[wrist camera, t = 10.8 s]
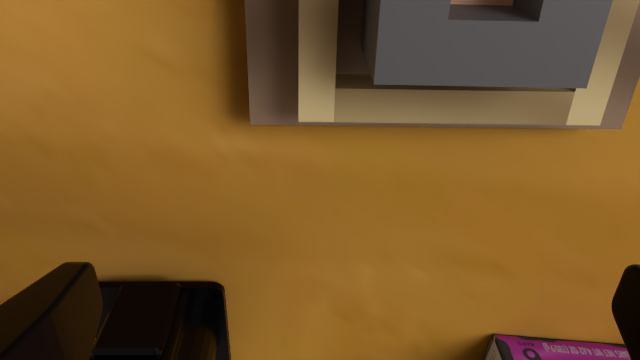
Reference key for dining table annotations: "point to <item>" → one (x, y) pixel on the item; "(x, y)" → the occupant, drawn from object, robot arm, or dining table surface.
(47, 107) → the dining table surface
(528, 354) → the candy bar box
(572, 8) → the dark gray frame
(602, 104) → the walnut board
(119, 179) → the dining table surface
